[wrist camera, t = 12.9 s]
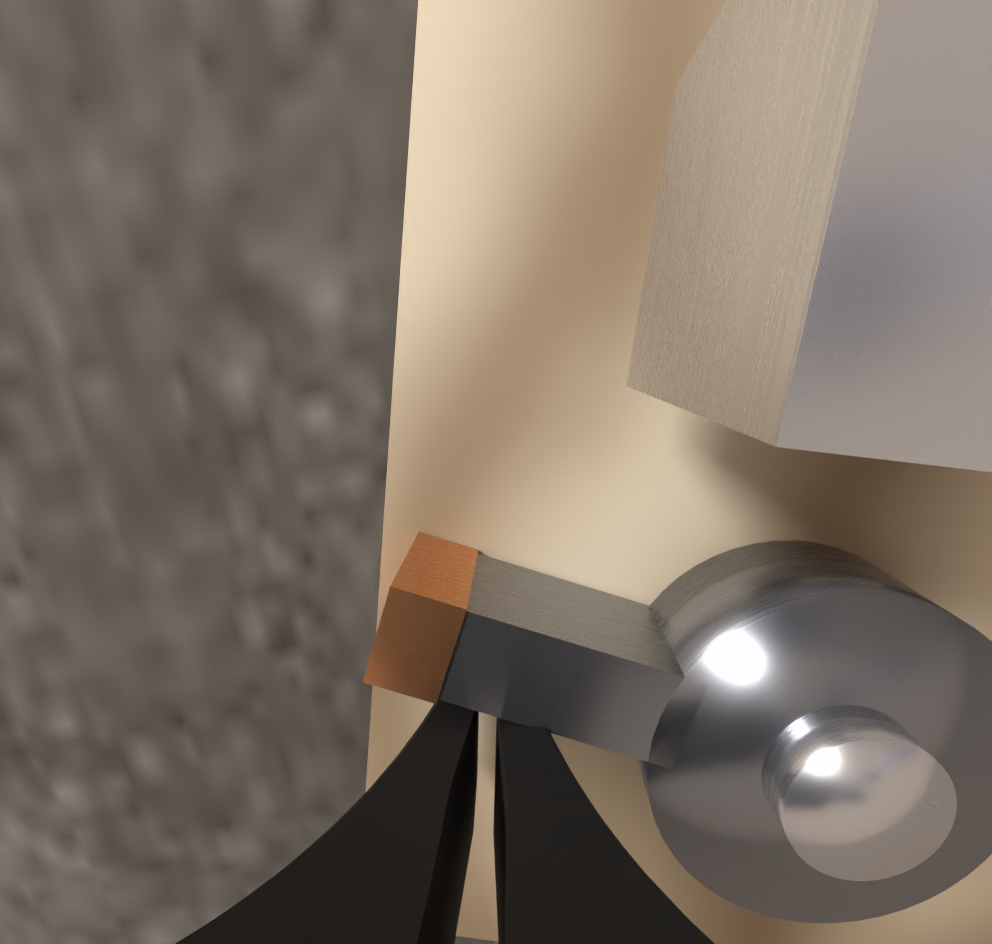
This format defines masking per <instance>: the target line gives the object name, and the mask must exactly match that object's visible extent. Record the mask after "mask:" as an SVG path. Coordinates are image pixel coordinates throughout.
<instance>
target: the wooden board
mask: <svg viewBox="0 0 992 944" xmlns="http://www.w3.org/2000/svg"><path fill="white" fill-rule="evenodd" d="M726 1H727V0H418V15H417V30H416V45H415V60H414V75H413V90H412V105H411V120H410V135H409V150H408V165H407V180H406V195H405V210H404V225H403V240H402V255H401V270H400V285H399V300H398V315H397V330H396V345H395V360H394V375H393V390H392V405H391V420H390V435H389V450H388V465H387V480H386V495H385V510H384V525H383V540H382V554H381V569H380V584H379V599H378V614H377V629H376V634H377V630H378V627H379V623H380V620H381V616H382V613H383V609H384V606H385V602H386V599H387V595H388V592H389V589H390V586H391V584H392V582H393V580H394V578H395V576H396V574H397V572H398V570H399V568H400V567H401V565H402V563H403V561H404V559H405V557H406V555H407V553H408V551H409V549H410V548H411V546H412V544H413V542H414V540H415V538H416V536H417V534H418V532H421V533H425V534H428V535H431V536H435V537H438V538H441V539H444V540H448V541H451V542H454V543H457V544H461V545H464V546H467V547H470V548H474V549H477V550H478V553H479V554H482V555H485V556H488V557H492V558H495V559H498V560H501V561H505V562H508V563H511V564H514V565H518V566H521V567H524V568H528V569H531V570H534V571H537V572H541V573H544V574H547V575H550V576H554V577H557V578H560V579H563V580H567V581H570V582H573V583H577V584H580V585H583V586H586V587H590V588H593V589H596V590H599V591H603V592H606V593H609V594H612V595H616V596H619V597H622V598H626V599H629V600H632V601H635V602H639V603H642V604H645V605H648V606H650V605H651V604H652V603H653V601H654V600H655V599H656V598H657V597H658V596H659V595H660V593H661V592H662V591H663V590H665V589H666V588H667V587H668V586H669V585H670V584H671V583H672V582H674V581H675V580H676V579H677V578H678V577H680V576H681V575H683V574H684V573H686V572H687V571H688V570H690V569H691V568H693V567H694V566H696V565H698V564H700V563H702V562H704V561H706V560H707V559H709V558H711V557H713V556H716V555H718V554H721V553H724V552H726V551H729V550H731V549H735V548H739V547H743V546H746V545H750V544H755V543H762V542H770V541H804V542H813V543H820V544H824V545H828V546H832V547H836V548H839V549H842V550H844V551H847V552H849V553H852V554H855V555H857V556H859V557H861V558H862V559H864V560H866V561H868V562H870V563H871V564H873V565H875V566H876V567H878V568H880V569H881V570H883V571H884V572H886V573H888V574H889V575H891V576H892V577H894V578H896V579H897V580H899V581H900V582H902V583H904V584H905V585H907V586H908V587H910V588H912V589H913V590H915V591H916V592H918V593H920V594H921V595H923V596H924V597H926V598H928V599H929V600H931V601H932V602H934V603H936V604H937V605H939V606H940V607H942V608H944V609H945V610H947V611H948V612H950V613H952V614H953V615H955V616H956V617H958V618H960V619H961V620H963V621H964V622H966V623H968V624H969V625H971V626H972V627H974V628H975V629H977V630H978V631H979V632H981V633H982V634H983V635H984V636H986V637H987V638H988V639H990V640H991V641H992V472H985V471H977V470H968V469H960V468H951V467H943V466H934V465H925V464H917V463H908V462H900V461H891V460H883V459H874V458H866V457H857V456H849V455H840V454H832V453H823V452H815V451H806V450H798V449H789V448H781V447H775V446H773V445H770V444H768V443H765V442H763V441H760V440H758V439H755V438H753V437H750V436H748V435H746V434H743V433H741V432H738V431H736V430H733V429H731V428H728V427H726V426H723V425H721V424H718V423H716V422H713V421H711V420H708V419H706V418H704V417H701V416H699V415H696V414H694V413H691V412H689V411H686V410H684V409H681V408H679V407H676V406H674V405H671V404H669V403H666V402H664V401H662V400H659V399H657V398H654V397H652V396H649V395H647V394H644V393H642V392H639V391H637V390H634V389H632V388H629V387H627V386H626V385H627V379H628V373H629V367H630V360H631V354H632V348H633V342H634V336H635V330H636V324H637V318H638V312H639V306H640V300H641V293H642V287H643V281H644V275H645V269H646V263H647V257H648V251H649V245H650V239H651V233H652V226H653V220H654V214H655V208H656V202H657V196H658V190H659V184H660V178H661V172H662V166H663V160H664V153H665V147H666V141H667V135H668V129H669V123H670V117H671V111H672V105H673V99H674V93H675V86H676V83H677V81H678V80H679V78H680V76H681V75H682V73H683V71H684V70H685V68H686V67H687V65H688V63H689V62H690V60H691V58H692V57H693V55H694V53H695V52H696V50H697V48H698V47H699V45H700V44H701V42H702V40H703V39H704V37H705V35H706V34H707V32H708V30H709V29H710V27H711V26H712V24H713V22H714V21H715V19H716V17H717V16H718V14H719V12H720V11H721V9H722V8H723V6H724V4H725V3H726ZM433 705H434V703H431V702H427V701H424V700H421V699H417V698H414V697H410V696H407V695H404V694H400V693H397V692H394V691H390V690H387V689H383V688H380V687H377V686H373V689H372V704H371V719H370V734H369V749H368V764H367V779H366V792H367V790H368V789H369V788H370V787H371V786H372V785H373V784H374V783H375V781H376V780H377V779H378V778H379V777H380V775H381V774H382V773H383V772H384V771H385V770H386V768H387V767H388V766H389V765H390V764H391V763H392V761H393V760H394V759H395V758H396V757H397V755H398V754H399V753H400V751H401V750H402V749H403V747H404V746H405V745H406V743H407V742H408V741H409V739H410V738H411V737H412V735H413V734H414V733H415V731H416V730H417V729H418V727H419V726H420V724H421V723H422V721H423V720H424V718H425V717H426V715H427V714H428V712H429V711H430V709H431V708H432V706H433ZM496 724H497V717H495V716H491V715H488V714H485V713H481V712H479V729H478V774H477V790H476V804H475V817H474V831H473V837H472V843H471V849H470V855H469V861H468V867H467V873H466V878H465V884H464V890H463V896H462V902H461V908H460V913H459V919H458V925H457V931H456V936H460V937H467V938H475V939H483V940H491V941H498V921H497V900H496V880H495V859H494V837H493V824H494V791H495V757H496ZM551 734H552V733H551ZM552 736H553V738H554V740H555V742H556V744H557V746H558V748H559V750H560V752H561V753H562V755H563V757H564V759H565V761H566V763H567V764H568V766H569V768H570V770H571V771H572V773H573V775H574V776H575V778H576V780H577V781H578V783H579V785H580V786H581V788H582V789H583V791H584V792H585V794H586V795H587V797H588V799H589V800H590V802H591V803H592V805H593V806H594V807H595V809H596V810H597V812H598V813H599V815H600V816H601V818H602V819H603V820H604V822H605V823H606V824H607V826H608V827H609V828H610V830H611V831H612V832H613V834H614V835H615V836H616V838H617V839H618V840H619V841H620V843H621V844H622V845H623V847H624V848H625V849H626V850H627V851H628V853H629V854H630V855H631V856H632V857H633V859H634V860H635V861H636V862H637V864H638V865H639V866H640V867H641V868H642V870H643V871H644V872H645V873H646V874H647V875H648V876H649V877H650V878H651V880H652V881H653V882H654V883H655V884H656V885H657V886H658V887H659V888H660V889H661V890H662V891H663V892H664V893H665V894H666V895H667V897H668V898H669V899H670V900H671V901H672V902H673V903H674V904H675V905H676V906H677V907H678V908H679V909H680V910H681V911H682V912H683V914H684V915H685V916H686V917H687V918H688V919H689V920H690V921H691V922H692V923H693V924H694V925H696V926H697V927H698V928H699V929H700V930H701V931H702V932H703V933H704V934H705V935H706V936H707V937H708V938H709V939H710V940H711V941H712V942H714V943H715V944H992V854H991V855H990V856H989V857H988V858H987V859H986V860H985V861H984V862H983V863H982V864H981V865H980V866H978V867H977V868H976V869H975V870H974V871H973V872H971V873H970V874H969V875H968V876H967V877H965V878H964V879H962V880H961V881H959V882H958V883H956V884H955V885H953V886H952V887H950V888H949V889H947V890H945V891H943V892H941V893H940V894H938V895H936V896H934V897H932V898H930V899H928V900H926V901H924V902H922V903H919V904H917V905H914V906H912V907H909V908H907V909H904V910H901V911H898V912H895V913H891V914H888V915H884V916H881V917H876V918H871V919H865V920H860V921H853V922H842V923H805V922H796V921H788V920H782V919H778V918H774V917H769V916H765V915H761V914H758V913H756V912H753V911H750V910H747V909H744V908H742V907H739V906H737V905H735V904H733V903H731V902H729V901H727V900H725V899H723V898H721V897H720V896H718V895H717V894H715V893H714V892H712V891H711V890H709V889H708V888H706V887H705V886H703V885H702V884H701V883H700V882H699V881H697V880H696V879H695V878H694V877H693V876H692V875H690V874H689V873H688V872H687V871H686V869H685V868H684V867H683V866H682V865H681V864H680V863H679V862H678V860H677V859H676V858H675V857H674V855H673V854H672V852H671V851H670V849H669V848H668V846H667V845H666V843H665V842H664V840H663V838H662V836H661V833H660V831H659V829H658V827H657V825H656V823H655V820H654V816H653V813H652V809H651V806H650V802H649V799H648V795H647V792H646V788H645V785H644V781H643V778H642V774H641V771H640V767H639V764H638V760H637V759H636V758H633V757H629V756H626V755H623V754H619V753H616V752H613V751H609V750H606V749H602V748H599V747H596V746H592V745H589V744H586V743H582V742H579V741H576V740H572V739H569V738H565V737H562V736H559V735H555V734H552Z"/></svg>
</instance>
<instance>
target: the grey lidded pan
mask: <svg viewBox="0 0 992 944" xmlns="http://www.w3.org/2000/svg"><path fill="white" fill-rule="evenodd" d="M363 683H367V684H370V685H373V686H377V687H380V688H383V689H387V690H390V691H394V692H397V693H400V694H404V695H407V696H410V697H414V698H417V699H421V700H424V701H427V702H431V703H434V704H436V703H437V700H441V701H444V702H448V703H451V704H454V705H458V706H461V707H464V708H468V709H471V710H474V711H478V712H481V713H485V714H488V715H491V716H495V717H498V718H501V719H505V720H508V721H512V722H515V723H518V724H522V725H525V726H541V727H545V728H546V729H547V730H548V731H549V732H550V733H552V734H555V735H559V736H562V737H565V738H569V739H572V740H576V741H579V742H582V743H586V744H589V745H592V746H596V747H599V748H602V749H606V750H609V751H613V752H616V753H619V754H623V755H626V756H629V757H633V758H636V759H637V760H638V764H639V767H640V771H641V774H642V778H643V781H644V785H645V788H646V792H647V795H648V799H649V802H650V806H651V809H652V813H653V816H654V820H655V823H656V825H657V827H658V829H659V831H660V833H661V836H662V838H663V840H664V842H665V843H666V845H667V846H668V848H669V849H670V851H671V852H672V854H673V855H674V857H675V858H676V859H677V860H678V862H679V863H680V864H681V865H682V866H683V867H684V868H685V869H686V871H687V872H688V873H689V874H690V875H692V876H693V877H694V878H695V879H696V880H697V881H699V882H700V883H701V884H702V885H703V886H705V887H706V888H708V889H709V890H711V891H712V892H714V893H715V894H717V895H718V896H720V897H721V898H723V899H725V900H727V901H729V902H731V903H733V904H735V905H737V906H739V907H742V908H744V909H747V910H750V911H753V912H756V913H758V914H761V915H765V916H769V917H774V918H778V919H782V920H788V921H796V922H805V923H842V922H853V921H860V920H865V919H871V918H876V917H881V916H884V915H888V914H891V913H895V912H898V911H901V910H904V909H907V908H909V907H912V906H914V905H917V904H919V903H922V902H924V901H926V900H928V899H930V898H932V897H934V896H936V895H938V894H940V893H941V892H943V891H945V890H947V889H949V888H950V887H952V886H953V885H955V884H956V883H958V882H959V881H961V880H962V879H964V878H965V877H967V876H968V875H969V874H970V873H971V872H973V871H974V870H975V869H976V868H977V867H978V866H980V865H981V864H982V863H983V862H984V861H985V860H986V859H987V858H988V857H989V856H990V855H991V854H992V641H991V640H990V639H988V638H987V637H986V636H984V635H983V634H982V633H981V632H979V631H978V630H977V629H975V628H974V627H972V626H971V625H969V624H968V623H966V622H964V621H963V620H961V619H960V618H958V617H956V616H955V615H953V614H952V613H950V612H948V611H947V610H945V609H944V608H942V607H940V606H939V605H937V604H936V603H934V602H932V601H931V600H929V599H928V598H926V597H924V596H923V595H921V594H920V593H918V592H916V591H915V590H913V589H912V588H910V587H908V586H907V585H905V584H904V583H902V582H900V581H899V580H897V579H896V578H894V577H892V576H891V575H889V574H888V573H886V572H884V571H883V570H881V569H880V568H878V567H876V566H875V565H873V564H871V563H870V562H868V561H866V560H864V559H862V558H861V557H859V556H857V555H855V554H852V553H849V552H847V551H844V550H842V549H839V548H836V547H832V546H828V545H824V544H820V543H813V542H804V541H770V542H762V543H755V544H750V545H746V546H743V547H739V548H735V549H731V550H729V551H726V552H724V553H721V554H718V555H716V556H713V557H711V558H709V559H707V560H706V561H704V562H702V563H700V564H698V565H696V566H694V567H693V568H691V569H690V570H688V571H687V572H686V573H684V574H683V575H681V576H680V577H678V578H677V579H676V580H675V581H674V582H672V583H671V584H670V585H669V586H668V587H667V588H666V589H665V590H663V591H662V592H661V593H660V595H659V596H658V597H657V598H656V599H655V600H654V601H653V603H652V604H651V605H650V606H648V605H645V604H642V603H639V602H635V601H632V600H629V599H626V598H622V597H619V596H616V595H612V594H609V593H606V592H603V591H599V590H596V589H593V588H590V587H586V586H583V585H580V584H577V583H573V582H570V581H567V580H563V579H560V578H557V577H554V576H550V575H547V574H544V573H541V572H537V571H534V570H531V569H528V568H524V567H521V566H518V565H514V564H511V563H508V562H505V561H501V560H498V559H495V558H492V557H488V556H485V555H482V554H479V553H478V550H477V549H474V548H470V547H467V546H464V545H461V544H457V543H454V542H451V541H448V540H444V539H441V538H438V537H435V536H431V535H428V534H425V533H421V532H418V534H417V536H416V538H415V540H414V542H413V544H412V546H411V548H410V549H409V551H408V553H407V555H406V557H405V559H404V561H403V563H402V565H401V567H400V568H399V570H398V572H397V574H396V576H395V578H394V580H393V582H392V584H391V586H390V589H389V592H388V595H387V599H386V602H385V606H384V609H383V613H382V616H381V620H380V623H379V627H378V630H377V634H376V637H375V641H374V644H373V648H372V651H371V655H370V658H369V662H368V665H367V669H366V672H365V676H364V679H363Z"/></svg>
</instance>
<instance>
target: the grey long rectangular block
mask: <svg viewBox="0 0 992 944" xmlns="http://www.w3.org/2000/svg"><path fill="white" fill-rule="evenodd" d="M626 386H627V387H629V388H632V389H634V390H637V391H639V392H642V393H644V394H647V395H649V396H652V397H654V398H657V399H659V400H662V401H664V402H666V403H669V404H671V405H674V406H676V407H679V408H681V409H684V410H686V411H689V412H691V413H694V414H696V415H699V416H701V417H704V418H706V419H708V420H711V421H713V422H716V423H718V424H721V425H723V426H726V427H728V428H731V429H733V430H736V431H738V432H741V433H743V434H746V435H748V436H750V437H753V438H755V439H758V440H760V441H763V442H765V443H768V444H770V445H773V446H775V447H781V448H789V449H798V450H806V451H815V452H823V453H832V454H840V455H849V456H857V457H866V458H874V459H883V460H891V461H900V462H908V463H917V464H925V465H934V466H943V467H951V468H960V469H968V470H977V471H985V472H992V0H727V1H726V3H725V4H724V6H723V8H722V9H721V11H720V12H719V14H718V16H717V17H716V19H715V21H714V22H713V24H712V26H711V27H710V29H709V30H708V32H707V34H706V35H705V37H704V39H703V40H702V42H701V44H700V45H699V47H698V48H697V50H696V52H695V53H694V55H693V57H692V58H691V60H690V62H689V63H688V65H687V67H686V68H685V70H684V71H683V73H682V75H681V76H680V78H679V80H678V81H677V83H676V86H675V93H674V99H673V105H672V111H671V117H670V123H669V129H668V135H667V141H666V147H665V153H664V160H663V166H662V172H661V178H660V184H659V190H658V196H657V202H656V208H655V214H654V220H653V226H652V233H651V239H650V245H649V251H648V257H647V263H646V269H645V275H644V281H643V287H642V293H641V300H640V306H639V312H638V318H637V324H636V330H635V336H634V342H633V348H632V354H631V360H630V367H629V373H628V379H627V385H626Z"/></svg>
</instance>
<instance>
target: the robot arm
mask: <svg viewBox="0 0 992 944" xmlns="http://www.w3.org/2000/svg"><path fill="white" fill-rule="evenodd" d="M478 729H479V712H478V711H474V710H471V709H468V708H464V707H461V706H458V705H454V704H451V703H448V702H444V701H441V700H437V703H436V704H434V705H433V706H432V708H431V709H430V711H429V712H428V714H427V715H426V717H425V718H424V720H423V721H422V723H421V724H420V726H419V727H418V729H417V730H416V731H415V733H414V734H413V735H412V737H411V738H410V739H409V741H408V742H407V743H406V745H405V746H404V747H403V749H402V750H401V751H400V753H399V754H398V755H397V757H396V758H395V759H394V760H393V761H392V763H391V764H390V765H389V766H388V767H387V768H386V770H385V771H384V772H383V773H382V774H381V775H380V777H379V778H378V779H377V780H376V781H375V783H374V784H373V785H372V786H371V787H370V788H369V789H368V790H367V792H366V793H365V794H364V795H363V796H362V797H361V798H360V799H359V800H358V801H357V802H356V803H355V804H354V805H353V806H352V807H351V808H350V809H349V810H348V811H347V812H346V813H345V814H344V815H343V816H342V817H341V818H340V819H339V820H338V821H337V822H336V823H335V824H334V825H333V826H332V827H331V828H330V829H329V830H328V831H327V832H325V833H324V834H323V835H322V836H321V837H320V838H319V839H318V840H316V841H315V842H314V843H313V844H312V845H311V846H310V847H309V848H307V849H306V850H305V851H304V852H303V853H302V854H301V855H300V856H298V857H297V858H296V859H295V860H294V861H292V862H291V863H290V864H289V865H288V866H286V867H285V868H284V869H283V870H281V871H280V872H279V873H278V874H276V875H275V876H274V877H272V878H271V879H270V880H268V881H267V882H266V883H264V884H263V885H262V886H260V887H259V888H258V889H256V890H255V891H254V892H252V893H251V894H249V895H248V896H247V897H245V898H244V899H243V900H241V901H240V902H239V903H237V904H236V905H234V906H233V907H231V908H230V909H229V910H227V911H226V912H224V913H223V914H221V915H220V916H218V917H217V918H215V919H214V920H212V921H211V922H209V923H208V924H206V925H205V926H203V927H202V928H200V929H198V930H197V931H195V932H193V933H192V934H190V935H189V936H187V937H185V938H184V939H182V940H180V941H179V942H177V943H176V944H454V943H455V937H456V931H457V925H458V919H459V913H460V908H461V902H462V896H463V890H464V884H465V878H466V873H467V867H468V861H469V855H470V849H471V843H472V837H473V831H474V817H475V804H476V790H477V774H478ZM493 837H494V859H495V880H496V900H497V921H498V942H499V944H715V943H714V942H712V941H711V940H710V939H709V938H708V937H707V936H706V935H705V934H704V933H703V932H702V931H701V930H700V929H699V928H698V927H697V926H696V925H694V924H693V923H692V922H691V921H690V920H689V919H688V918H687V917H686V916H685V915H684V914H683V912H682V911H681V910H680V909H679V908H678V907H677V906H676V905H675V904H674V903H673V902H672V901H671V900H670V899H669V898H668V897H667V895H666V894H665V893H664V892H663V891H662V890H661V889H660V888H659V887H658V886H657V885H656V884H655V883H654V882H653V881H652V880H651V878H650V877H649V876H648V875H647V874H646V873H645V872H644V871H643V870H642V868H641V867H640V866H639V865H638V864H637V862H636V861H635V860H634V859H633V857H632V856H631V855H630V854H629V853H628V851H627V850H626V849H625V848H624V847H623V845H622V844H621V843H620V841H619V840H618V839H617V838H616V836H615V835H614V834H613V832H612V831H611V830H610V828H609V827H608V826H607V824H606V823H605V822H604V820H603V819H602V818H601V816H600V815H599V813H598V812H597V810H596V809H595V807H594V806H593V805H592V803H591V802H590V800H589V799H588V797H587V795H586V794H585V792H584V791H583V789H582V788H581V786H580V785H579V783H578V781H577V780H576V778H575V776H574V775H573V773H572V771H571V770H570V768H569V766H568V764H567V763H566V761H565V759H564V757H563V755H562V753H561V752H560V750H559V748H558V746H557V744H556V742H555V740H554V738H553V736H552V734H551V733H550V732H549V731H548V730H547V729H546V728H545V727H541V726H525V725H522V724H518V723H515V722H512V721H508V720H505V719H501V718H498V717H497V724H496V757H495V791H494V824H493Z"/></svg>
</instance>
